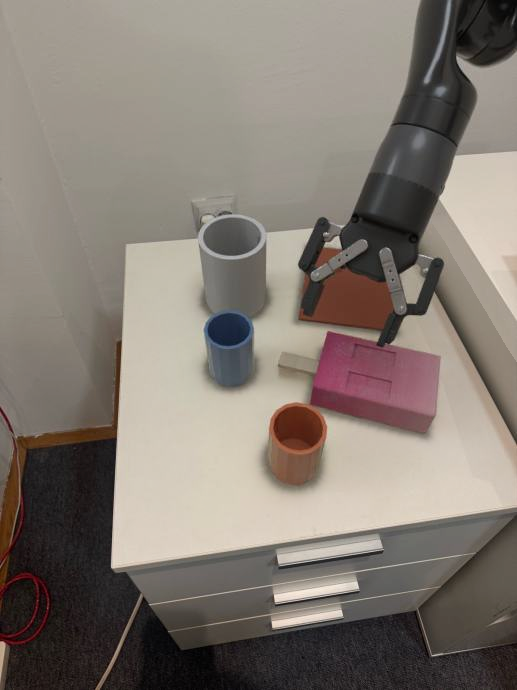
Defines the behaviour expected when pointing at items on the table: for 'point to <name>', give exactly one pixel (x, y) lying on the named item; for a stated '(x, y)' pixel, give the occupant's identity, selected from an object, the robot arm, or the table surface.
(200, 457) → the table surface
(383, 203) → the robot arm
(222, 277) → the cup
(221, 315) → the blue tumbler
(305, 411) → the terracotta tumbler
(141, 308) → the table surface
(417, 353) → the popsicle
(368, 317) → the clay mat
